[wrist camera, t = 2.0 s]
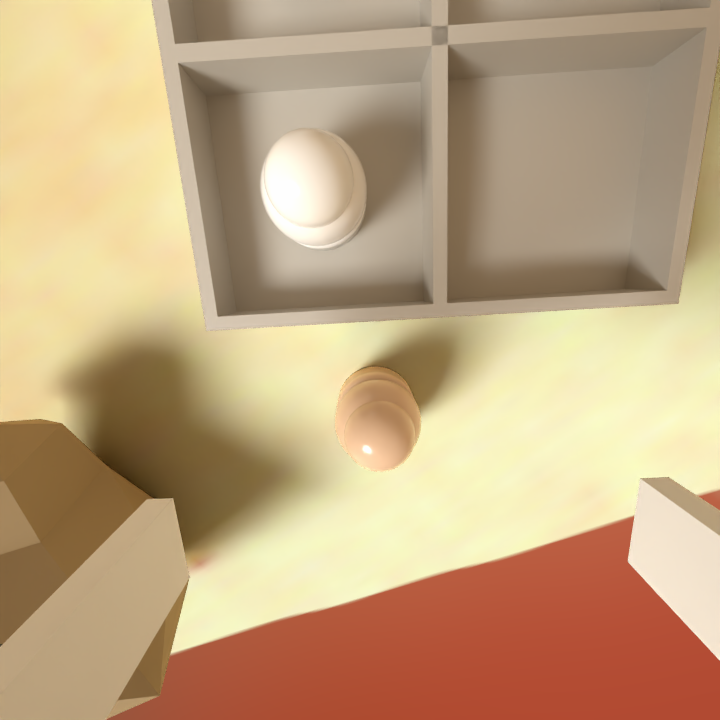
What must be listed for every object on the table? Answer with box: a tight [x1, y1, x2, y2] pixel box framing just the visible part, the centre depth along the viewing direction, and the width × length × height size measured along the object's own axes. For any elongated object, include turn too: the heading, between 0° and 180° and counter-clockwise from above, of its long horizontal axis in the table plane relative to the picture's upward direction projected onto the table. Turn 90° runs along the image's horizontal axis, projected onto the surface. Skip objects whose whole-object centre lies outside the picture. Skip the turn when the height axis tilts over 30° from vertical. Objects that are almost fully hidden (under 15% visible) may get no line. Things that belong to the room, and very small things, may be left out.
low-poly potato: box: [0, 419, 189, 718], centre depth 16 cm, size 15×11×12 cm
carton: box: [152, 0, 720, 331], centre depth 14 cm, size 21×21×3 cm
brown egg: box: [335, 367, 421, 472], centre depth 17 cm, size 4×4×6 cm
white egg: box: [260, 128, 367, 251], centre depth 13 cm, size 4×4×6 cm
